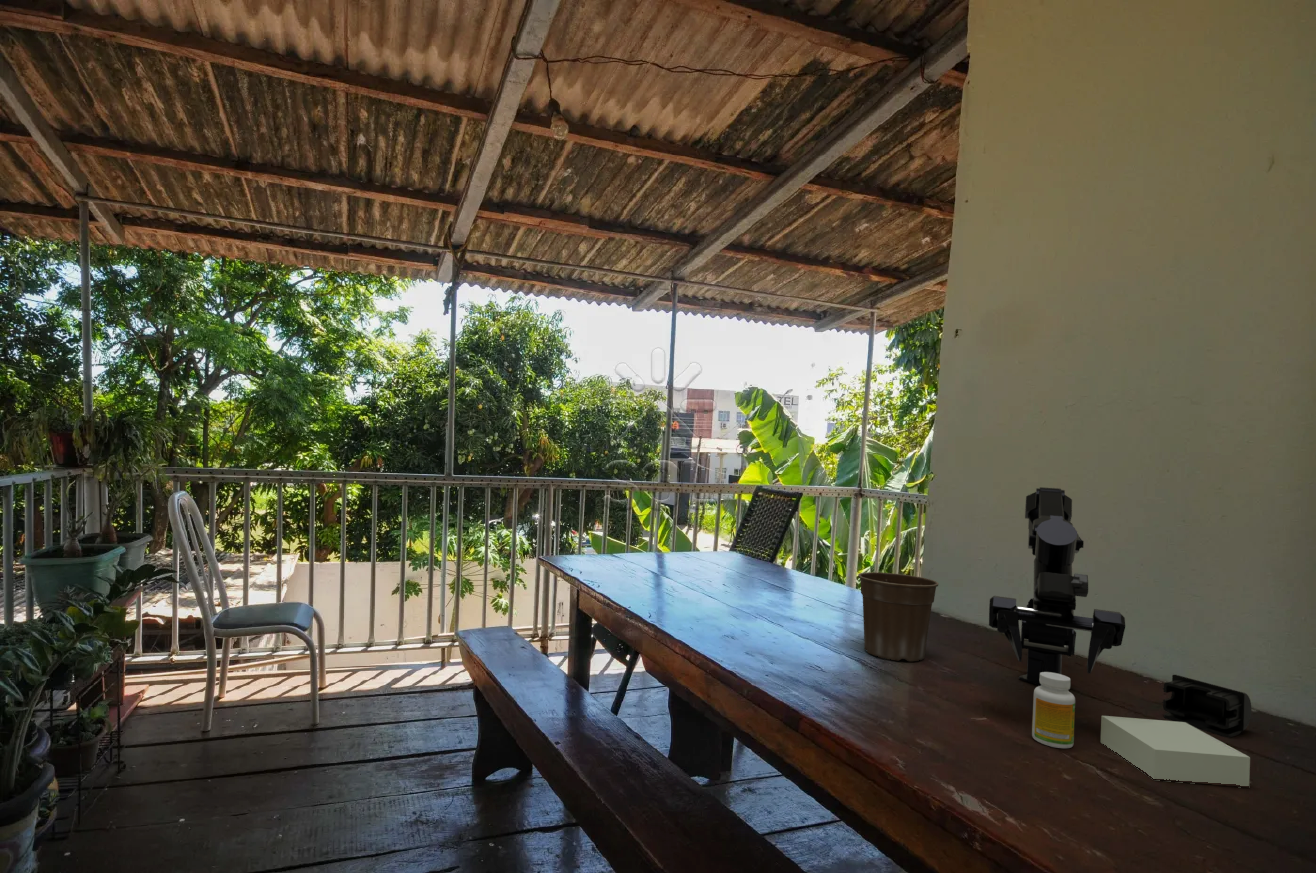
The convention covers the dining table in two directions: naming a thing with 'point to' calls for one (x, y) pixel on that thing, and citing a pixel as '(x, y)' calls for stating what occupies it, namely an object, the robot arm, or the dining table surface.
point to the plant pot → (896, 614)
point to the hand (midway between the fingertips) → (1054, 665)
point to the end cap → (1207, 706)
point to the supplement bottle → (1053, 711)
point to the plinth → (1174, 751)
